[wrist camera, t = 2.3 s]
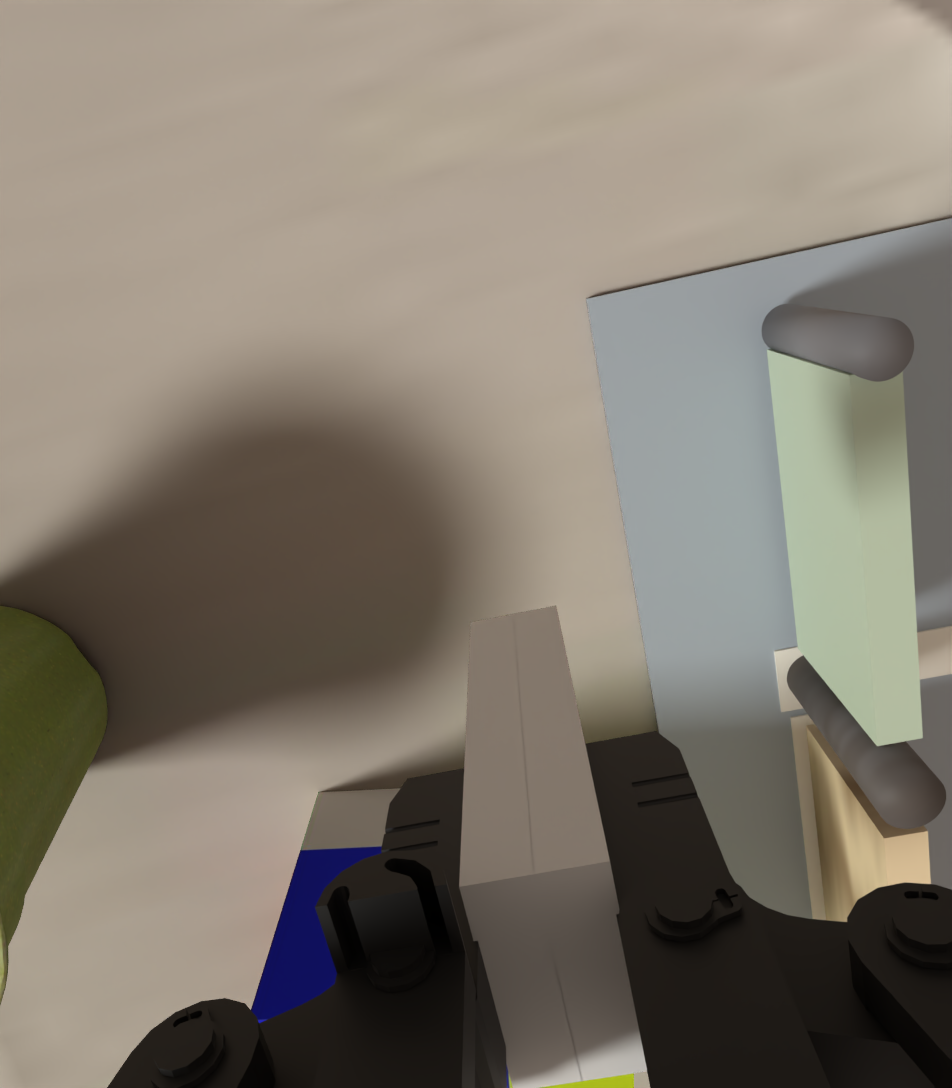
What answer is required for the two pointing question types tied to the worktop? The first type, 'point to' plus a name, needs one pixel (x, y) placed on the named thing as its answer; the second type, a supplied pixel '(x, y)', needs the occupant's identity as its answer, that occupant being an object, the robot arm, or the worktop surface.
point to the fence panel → (849, 507)
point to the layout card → (765, 530)
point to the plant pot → (39, 749)
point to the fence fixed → (863, 800)
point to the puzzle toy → (299, 943)
